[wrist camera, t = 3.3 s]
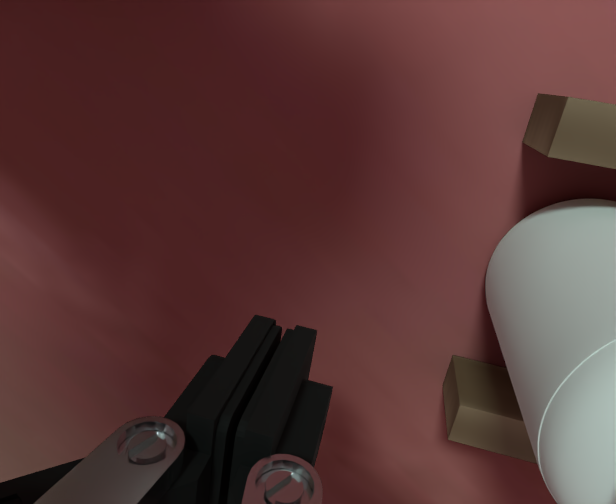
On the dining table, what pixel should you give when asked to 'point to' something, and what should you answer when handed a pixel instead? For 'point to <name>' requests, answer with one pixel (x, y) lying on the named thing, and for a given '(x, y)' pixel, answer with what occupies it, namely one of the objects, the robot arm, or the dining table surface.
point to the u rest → (494, 379)
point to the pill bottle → (562, 341)
